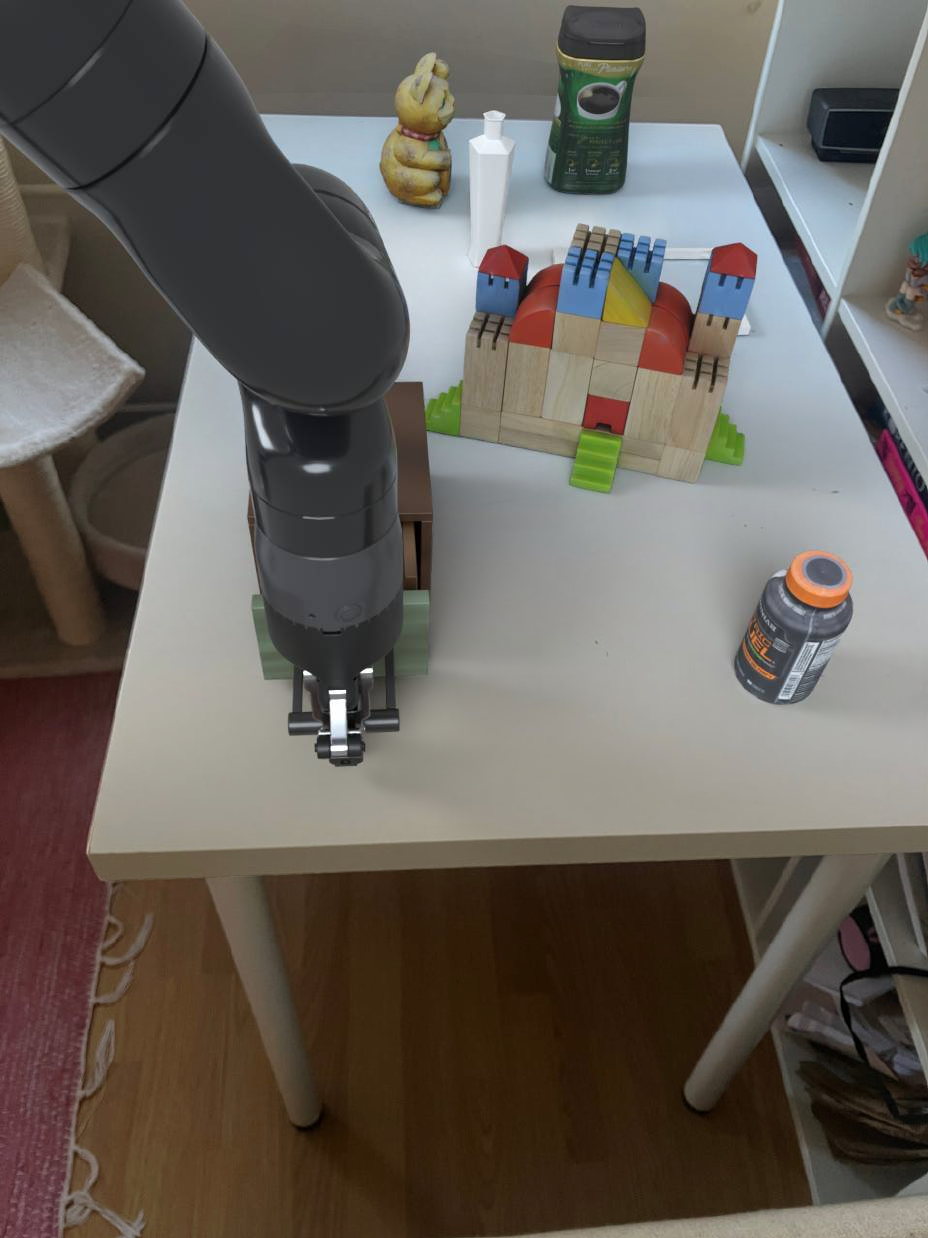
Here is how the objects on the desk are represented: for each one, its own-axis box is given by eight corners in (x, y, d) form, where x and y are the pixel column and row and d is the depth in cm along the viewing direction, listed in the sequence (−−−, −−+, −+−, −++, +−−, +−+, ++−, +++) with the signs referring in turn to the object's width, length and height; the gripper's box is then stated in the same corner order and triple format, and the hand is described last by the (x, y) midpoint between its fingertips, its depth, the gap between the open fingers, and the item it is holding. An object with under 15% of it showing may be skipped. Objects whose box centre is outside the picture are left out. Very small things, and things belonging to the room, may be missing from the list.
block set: (409, 454, 87) (410, 250, 72) (449, 360, 96) (458, 160, 81) (735, 520, 84) (807, 319, 69) (745, 415, 92) (811, 218, 78)
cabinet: (430, 603, 76) (433, 513, 69) (262, 608, 75) (246, 516, 68) (421, 473, 85) (422, 380, 78) (271, 475, 84) (258, 382, 77)
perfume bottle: (513, 266, 107) (526, 122, 95) (475, 272, 106) (483, 128, 94) (498, 244, 109) (509, 102, 98) (460, 250, 108) (466, 106, 97)
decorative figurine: (451, 220, 112) (456, 79, 101) (377, 216, 112) (374, 74, 100) (452, 177, 118) (457, 40, 107) (382, 174, 118) (380, 36, 106)
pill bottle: (719, 649, 75) (761, 543, 66) (792, 636, 76) (842, 531, 67) (753, 714, 71) (801, 611, 62) (828, 700, 72) (887, 597, 63)
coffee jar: (619, 166, 122) (647, -4, 108) (627, 198, 117) (658, 25, 103) (539, 163, 122) (557, -8, 107) (544, 196, 117) (564, 21, 102)
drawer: (433, 757, 66) (435, 688, 60) (259, 764, 66) (244, 695, 60) (418, 537, 79) (419, 462, 73) (272, 540, 78) (261, 465, 72)
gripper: (265, 480, 57) (291, 665, 70) (251, 676, 48) (285, 844, 61) (398, 478, 57) (399, 661, 71) (408, 671, 49) (407, 838, 62)
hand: (346, 745), depth 66 cm, fingers closed
